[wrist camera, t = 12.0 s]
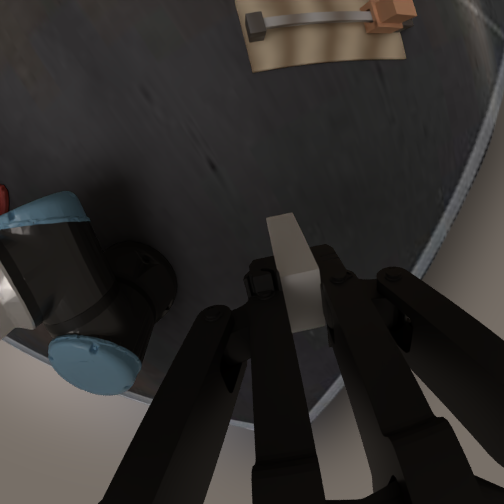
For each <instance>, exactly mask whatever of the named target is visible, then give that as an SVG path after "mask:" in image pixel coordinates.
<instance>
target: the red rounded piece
mask: <svg viewBox="0 0 504 504" xmlns="http://www.w3.org/2000/svg"><path fill="white" fill-rule="evenodd" d="M8 209H9V197H8V191H7V189H6V188H5V186H4V185H1V184H0V215H2V214H5V213H7V212H8Z"/></svg>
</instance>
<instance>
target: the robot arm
mask: <svg viewBox="0 0 504 504" xmlns="http://www.w3.org/2000/svg"><path fill="white" fill-rule="evenodd" d="M266 221H267V225H268V230H269V235H270V240H271V245H272V249H273V254H274V256H270V257H265V258H261V259H256V260H253V261H252V263H251V264H250V266H249V268H250V271H249V272H248V273H247V274H246V275H245V276H244V283H245V287H246V291H247V294H248V302H247V303H246V304H244V305H243V306H241V307H239V308H237V309H235V310H232V311H231V310H230V308H229V307H227V306H225V305H214V306H210V307H208V308H206V309H204V310H203V311H201V312H200V313H199V315H198V316H197V318H196V320H195V321H194V323H193V325H192V327H191V329H190V331H189V333H188V334H187V336H186V338H185V340H184V342H183V344H182V346H181V348H180V349H179V351H178V353H177V355H176V357H175V359H174V361H173V363H172V365H171V366H170V368H169V370H168V372H167V374H166V376H165V378H164V380H163V382H162V384H161V385H160V387H159V389H158V391H157V393H156V395H155V397H154V399H153V401H152V403H151V405H150V407H149V408H148V410H147V412H146V414H145V416H144V418H143V420H142V422H141V424H140V426H139V428H138V430H137V432H136V434H135V436H134V438H133V440H132V442H131V443H130V446H129V447H128V449H127V451H126V453H125V455H124V457H123V459H122V461H121V463H120V465H119V467H118V469H117V471H116V473H115V475H114V477H113V479H112V481H111V483H110V485H109V487H108V489H107V491H106V493H105V495H104V497H103V499H102V500H101V501H100V502H99V503H98V504H203V502H204V500H205V497H206V494H207V490H208V488H209V485H210V482H211V479H212V476H213V473H214V470H215V466H216V463H217V460H218V457H219V454H220V451H221V448H222V445H223V442H224V438H225V435H226V432H227V429H228V426H229V422H230V419H231V416H232V413H233V410H234V406H235V403H236V400H237V396H238V393H239V390H240V387H241V383H242V380H243V377H244V373H245V370H246V367H247V360H248V359H250V358H251V369H252V391H253V412H254V433H255V453H256V462H255V465H254V466H253V468H252V503H253V504H504V488H503V487H500V486H498V485H496V484H493V483H491V482H489V481H486V480H484V479H482V478H480V477H478V476H475V475H474V474H473V472H472V470H471V467H470V465H469V463H468V460H467V458H466V456H465V454H464V452H463V449H462V447H461V446H460V443H459V441H458V439H457V437H456V435H455V433H454V431H453V429H452V427H451V425H450V424H449V422H448V420H446V419H445V418H444V417H436V416H435V415H434V414H433V412H432V410H431V408H430V406H429V404H428V402H427V400H426V398H425V396H424V394H423V392H422V390H421V388H420V386H419V385H418V383H417V381H416V379H415V377H414V375H413V373H412V372H411V370H412V371H413V372H414V373H415V374H416V375H417V376H418V377H419V378H420V379H421V380H422V381H423V382H424V383H425V385H427V387H428V388H429V389H430V390H431V391H432V392H433V393H434V394H435V395H436V396H437V397H438V398H439V399H440V401H441V402H442V403H443V404H444V405H445V406H446V407H447V408H448V409H449V410H450V411H451V412H452V414H453V415H454V416H455V417H456V418H457V419H458V420H459V421H460V422H461V423H462V425H463V426H464V427H465V428H466V429H467V430H468V431H469V432H470V433H471V435H472V436H473V437H474V438H475V439H476V440H477V441H478V442H479V444H480V445H481V446H482V447H483V448H484V449H485V450H486V452H487V453H488V454H489V455H490V456H491V457H492V458H493V459H494V460H495V461H496V462H497V463H498V464H500V465H501V466H502V467H504V340H502V339H501V338H500V337H499V336H497V335H496V334H495V333H493V332H492V331H491V330H490V329H488V328H487V327H485V326H484V325H483V324H482V323H480V322H479V321H478V320H476V319H475V318H474V317H472V316H471V315H469V314H468V313H467V312H465V311H464V310H463V309H461V308H460V307H459V306H457V305H456V304H454V303H453V302H452V301H450V300H449V299H448V298H446V297H445V296H443V295H442V294H440V293H439V292H437V291H436V290H435V289H433V288H432V287H430V286H429V285H428V284H426V283H425V282H423V281H422V280H420V279H419V278H417V277H416V276H414V275H413V274H411V273H410V272H408V271H407V270H405V269H403V268H400V267H387V268H384V269H382V270H380V271H379V272H378V273H377V279H371V280H363V279H358V278H357V276H356V275H355V274H354V273H353V272H352V271H349V270H346V268H345V267H344V265H343V264H342V262H341V260H340V259H339V257H338V255H337V254H336V252H335V251H334V249H333V248H332V247H330V246H329V245H327V244H324V245H319V246H314V247H309V246H308V244H307V242H306V240H305V237H304V235H303V233H302V231H301V229H300V227H299V225H298V223H297V221H296V219H295V217H294V215H293V213H287V214H283V215H278V216H273V217H268V218H266ZM176 291H177V281H176V276H175V273H174V271H173V269H172V267H171V265H170V264H169V262H168V261H167V260H166V259H165V257H164V256H163V255H161V254H160V253H159V252H158V251H156V250H155V249H153V248H151V247H150V246H147V245H145V244H142V243H138V242H121V243H118V244H115V245H113V246H111V247H110V248H108V249H107V250H106V251H105V252H104V253H103V251H102V249H101V247H100V244H99V242H98V240H97V238H96V235H95V233H94V231H93V229H92V226H91V224H90V219H89V218H88V217H87V216H86V214H85V212H84V210H83V207H82V205H81V203H80V201H79V199H78V197H77V196H76V195H75V194H74V193H72V192H70V191H61V192H58V193H54V194H51V195H48V196H45V197H43V198H40V199H37V200H35V201H32V202H30V203H27V204H25V205H22V206H20V207H18V208H16V209H14V210H11V211H9V212H7V213H5V214H2V215H0V340H1V339H2V338H3V337H5V336H6V335H7V334H8V333H9V332H10V331H12V330H13V329H14V328H17V327H20V328H26V329H31V330H33V329H35V328H36V327H37V326H38V325H40V324H41V323H43V324H44V326H45V327H46V329H47V330H48V332H49V333H50V335H51V336H52V338H53V340H52V341H51V342H50V344H49V349H48V354H49V356H48V358H49V361H50V363H51V365H52V367H53V368H54V369H55V371H56V372H57V373H58V374H59V375H60V376H61V377H62V378H63V379H65V380H66V381H67V382H69V383H70V384H72V385H74V386H75V387H77V388H79V389H82V390H85V391H87V392H90V393H93V394H98V395H118V394H121V393H123V392H125V391H127V390H128V389H130V388H131V386H132V385H133V383H134V381H135V379H136V376H137V374H138V373H139V371H140V370H141V366H142V362H143V358H144V355H145V352H146V349H147V346H148V342H149V339H150V336H151V333H152V330H153V327H154V324H155V323H156V322H157V321H159V320H160V319H161V318H162V317H163V316H164V315H165V314H166V313H167V312H168V311H169V309H170V308H171V306H172V304H173V302H174V299H175V296H176ZM407 316H408V317H407ZM325 320H326V322H327V330H328V341H329V347H333V350H334V353H335V356H336V359H337V362H338V365H339V368H340V371H341V374H342V378H343V381H344V384H345V387H346V390H347V393H348V396H349V399H350V403H351V406H352V409H353V412H354V416H355V419H356V422H357V425H358V429H359V432H360V435H361V439H362V442H363V446H364V449H365V452H366V456H367V459H368V463H369V467H370V470H371V474H372V483H373V492H374V493H373V494H371V495H369V496H367V497H366V498H363V499H358V500H325V495H324V489H323V484H322V478H321V473H320V468H319V463H318V458H317V454H316V449H315V444H314V439H313V434H312V428H311V423H310V418H309V413H308V408H307V403H306V398H305V393H304V388H303V383H302V378H301V373H300V369H299V364H298V359H297V354H296V349H295V345H294V340H293V335H292V333H295V332H300V331H304V330H309V329H313V328H318V327H322V326H325Z"/></svg>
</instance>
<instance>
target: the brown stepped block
mask: <svg viewBox="0 0 504 504" xmlns="http://www.w3.org/2000/svg"><path fill="white" fill-rule="evenodd" d="M360 11H370V12H371V15H372V19H373V22H364V25H365V29H366V33H393V32H395V31H397V30H399V29H402V28H403V25H402V22H404V21H407V20H409V19H411V18H413V17H416V16H417V14H416V10H415V7H414V4H413V1H412V0H380V1H379V0H370V1H368V2H367V3H366V4H365V5H363V6H362V7H361V8H360Z"/></svg>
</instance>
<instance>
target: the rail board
mask: <svg viewBox="0 0 504 504" xmlns="http://www.w3.org/2000/svg"><path fill="white" fill-rule="evenodd" d="M368 1H370V0H235V5H236V8H237V12H238V16H239V20H240V24H241V28H242V32H243V36H244V40H245V44H246V48H247V52H248V56H249V60H250V64H251V68H252V72H253V73H256V72H261V71H267V70H273V69H279V68H286V67H293V66H300V65H308V64H317V63H327V62H339V61H355V60H391V59H394V60H403V59H406V55H405V51H404V47H403V42H402V38H401V34H400V31H402V30H405V29H407V28H410V27H412V26H414V25H413V21H412V18H411V19H409V20H407V21H404V22H402V25H403V28H402V29H399V30H397V31H395V32H393V33H366V29H365V25H364V22H373V19H372V15H371V12H370V11H360V8H361V7H362V6H363V5H365V4H366V3H367V2H368ZM379 1H380V0H379Z"/></svg>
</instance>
